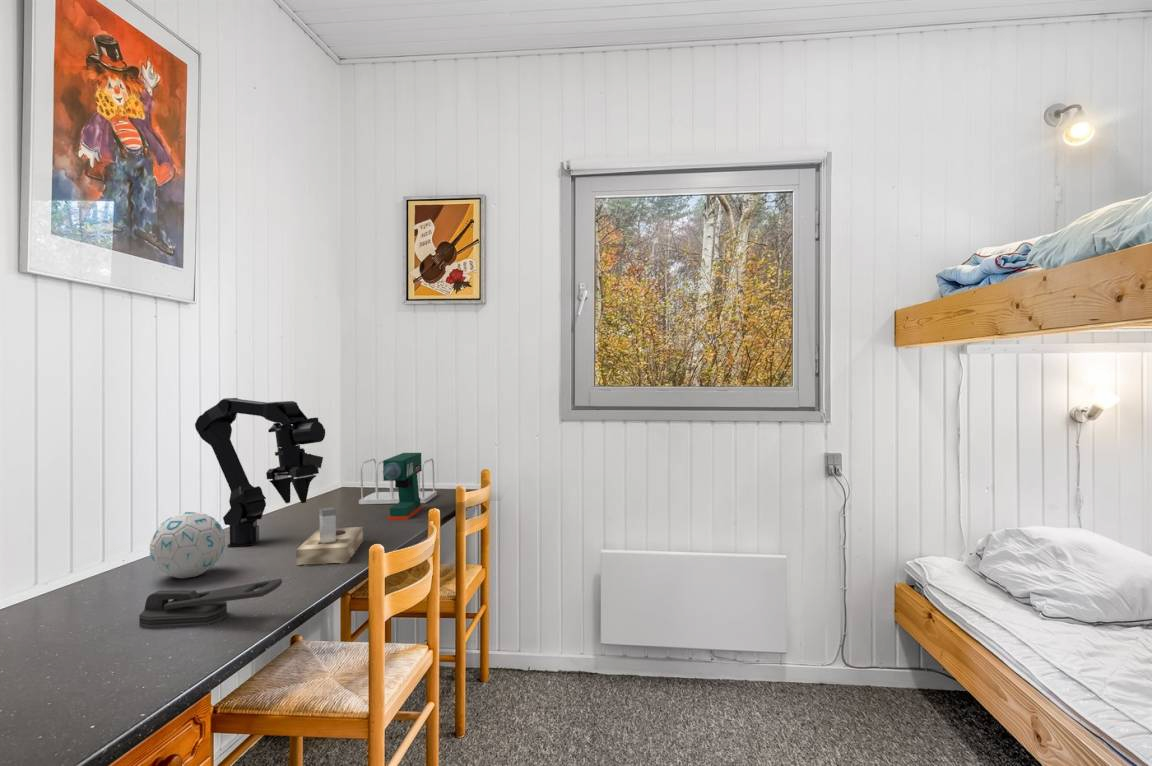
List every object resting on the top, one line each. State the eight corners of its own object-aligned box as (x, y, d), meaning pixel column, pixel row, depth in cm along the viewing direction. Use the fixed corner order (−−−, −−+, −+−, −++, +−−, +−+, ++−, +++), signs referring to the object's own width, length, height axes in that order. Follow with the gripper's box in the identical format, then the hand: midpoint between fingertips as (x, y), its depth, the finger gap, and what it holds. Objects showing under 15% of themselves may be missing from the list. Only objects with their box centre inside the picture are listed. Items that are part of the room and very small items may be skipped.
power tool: (396, 529, 190) (395, 464, 190) (373, 529, 190) (372, 464, 190) (423, 508, 222) (423, 452, 222) (404, 508, 222) (403, 452, 222)
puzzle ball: (212, 583, 141) (211, 517, 141) (137, 589, 137) (136, 521, 137) (234, 564, 155) (233, 504, 155) (167, 569, 152) (166, 508, 152)
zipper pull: (264, 592, 115) (130, 593, 115) (264, 627, 115) (130, 628, 115) (287, 576, 124) (162, 577, 124) (287, 609, 124) (163, 611, 124)
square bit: (323, 559, 159) (322, 510, 159) (320, 556, 161) (319, 508, 161) (336, 557, 160) (335, 509, 160) (332, 554, 163) (332, 507, 163)
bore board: (296, 565, 153) (296, 548, 153) (318, 543, 175) (318, 528, 175) (347, 563, 155) (346, 546, 155) (363, 540, 177) (362, 526, 177)
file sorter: (437, 495, 247) (436, 456, 247) (425, 504, 230) (425, 462, 230) (374, 496, 248) (374, 457, 248) (358, 505, 230) (357, 463, 230)
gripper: (333, 440, 171) (340, 496, 171) (301, 444, 183) (307, 497, 182) (293, 446, 162) (300, 505, 162) (262, 450, 174) (269, 505, 174)
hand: (295, 503), depth 170 cm, fingers open, 9 cm apart
